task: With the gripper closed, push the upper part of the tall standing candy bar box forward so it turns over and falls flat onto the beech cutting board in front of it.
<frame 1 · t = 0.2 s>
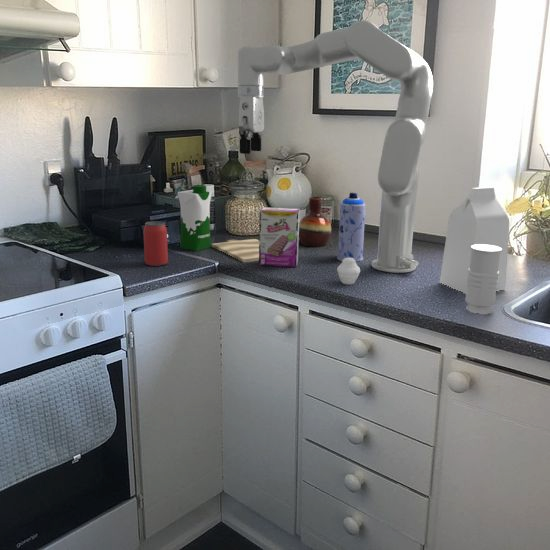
hand: (250, 152, 184), 31 cm above the worktop, tool pointing down, fingers open, 9 cm apart
beer can: (156, 264, 179), on the worktop
milk: (471, 287, 163), on the worktop
vase: (313, 244, 207), on the worktop
white rounded jar: (347, 283, 164), on the worktop
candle: (479, 310, 145), on the worktop
milk carton: (195, 248, 199), on the worktop
candy bar box: (278, 265, 181), on the worktop
cutting board: (249, 251, 195), on the worktop
aerosol can: (350, 259, 189), on the worktop
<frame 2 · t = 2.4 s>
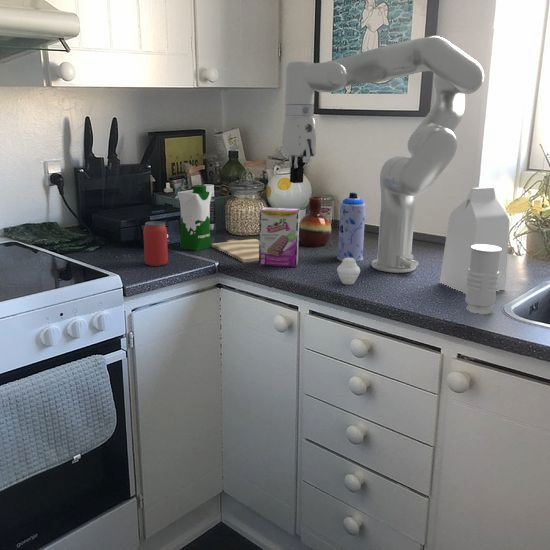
hand: (296, 182, 166), 25 cm above the worktop, tool pointing down, fingers closed
nothing on the worktop moved.
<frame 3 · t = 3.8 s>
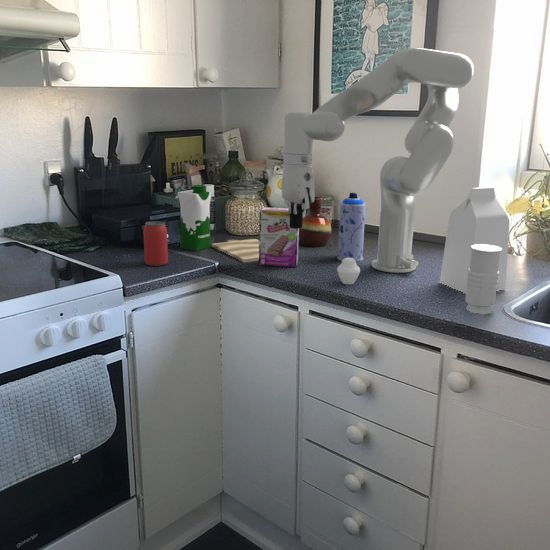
hand: (295, 227, 170), 13 cm above the worktop, tool pointing down, fingers closed
nothing on the worktop moved.
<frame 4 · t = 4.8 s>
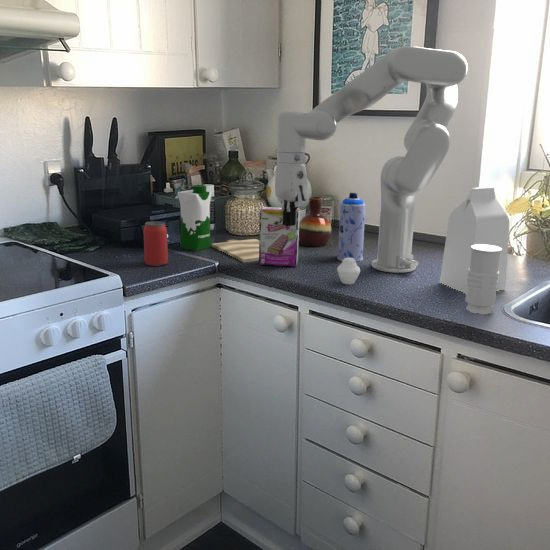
hand: (289, 225, 173), 13 cm above the worktop, tool pointing down, fingers closed
candy bar box: (278, 265, 181), on the worktop, touching gripper
everything else where it was.
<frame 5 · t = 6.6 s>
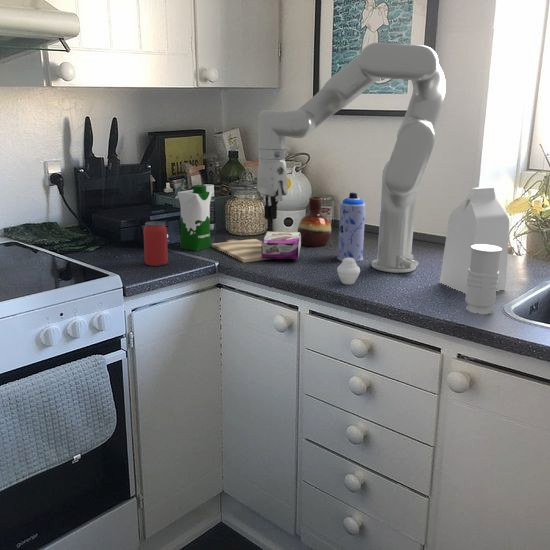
hand: (270, 218, 181), 13 cm above the worktop, tool pointing down, fingers closed
candy bar box: (280, 251, 182), point 4 cm above the worktop, touching cutting board
everything else where it was.
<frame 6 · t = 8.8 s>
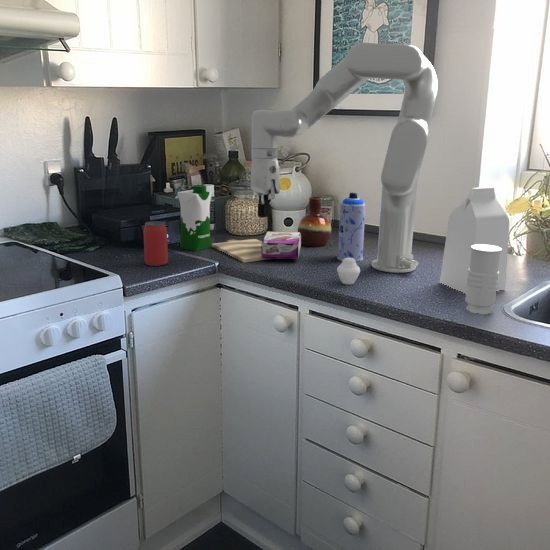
hand: (263, 216, 184), 13 cm above the worktop, tool pointing down, fingers closed
nothing on the worktop moved.
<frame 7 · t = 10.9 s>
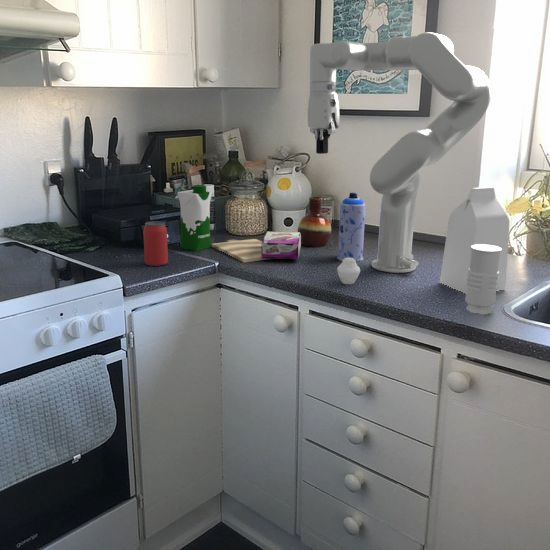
hand: (322, 153, 184), 31 cm above the worktop, tool pointing down, fingers closed
nothing on the worktop moved.
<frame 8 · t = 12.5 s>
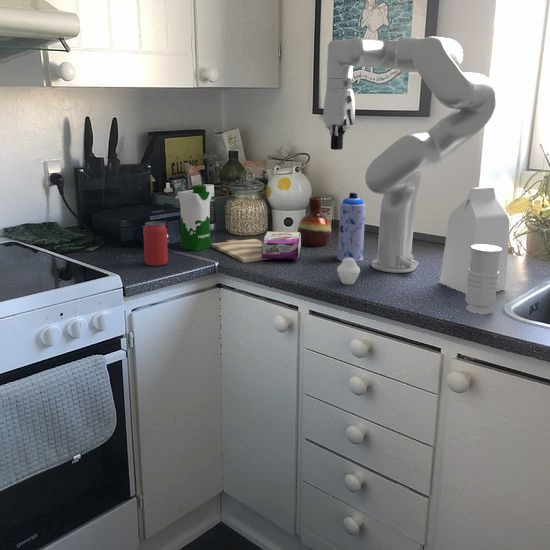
hand: (336, 149, 186), 32 cm above the worktop, tool pointing down, fingers closed
nothing on the worktop moved.
at the end: candy bar box tilted 91°; candy bar box inside the target area (9.0 cm from its centre), point 3.5 cm above the worktop; the gripper is holding nothing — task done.
